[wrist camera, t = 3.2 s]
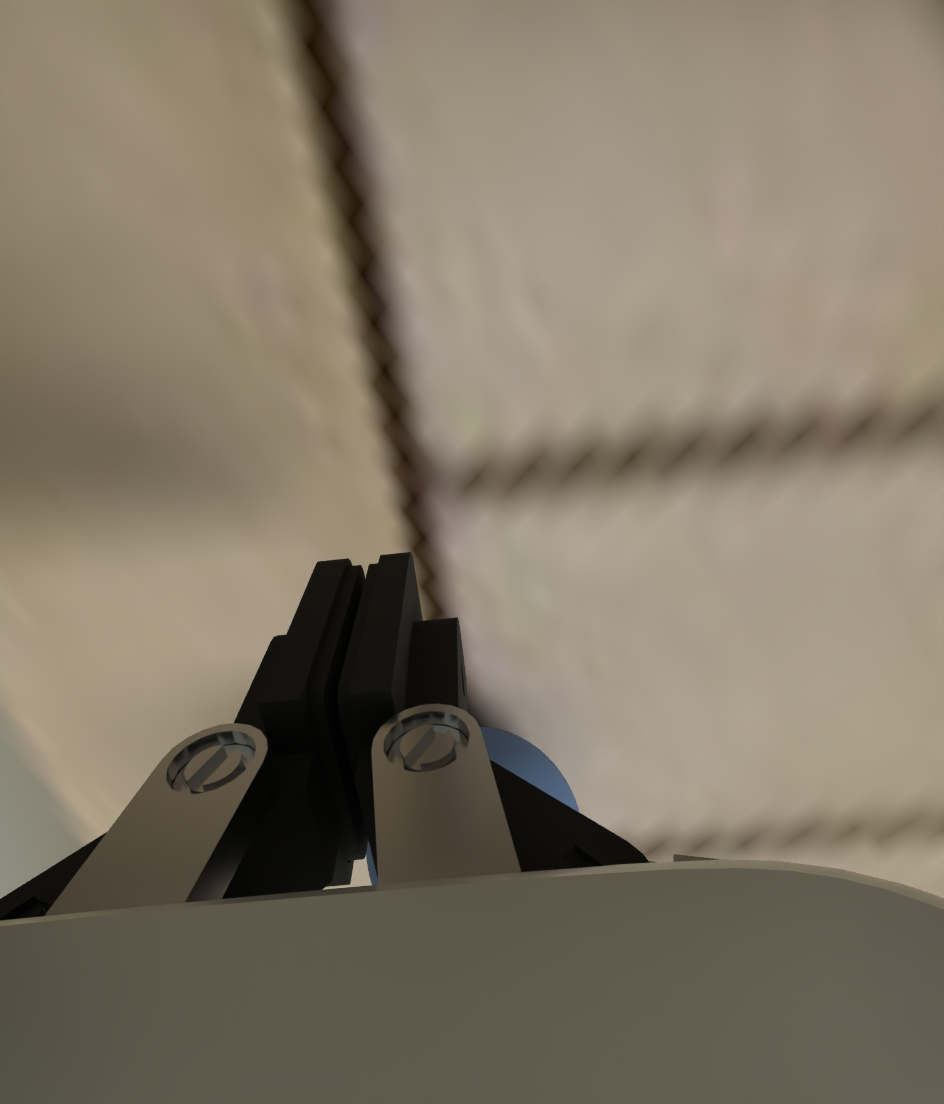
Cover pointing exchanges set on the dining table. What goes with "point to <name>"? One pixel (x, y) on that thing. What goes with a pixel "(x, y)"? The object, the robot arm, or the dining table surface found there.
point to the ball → (516, 771)
